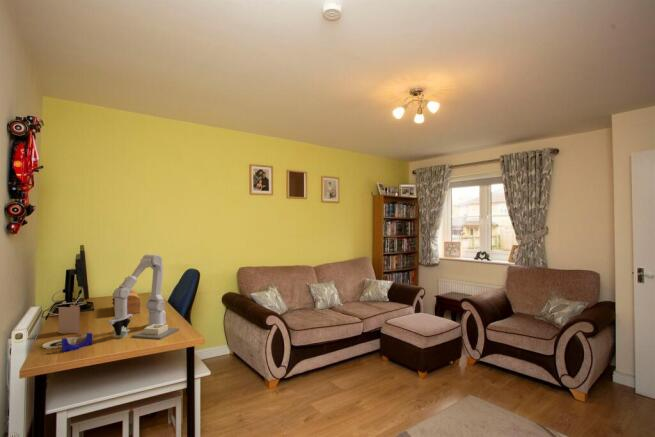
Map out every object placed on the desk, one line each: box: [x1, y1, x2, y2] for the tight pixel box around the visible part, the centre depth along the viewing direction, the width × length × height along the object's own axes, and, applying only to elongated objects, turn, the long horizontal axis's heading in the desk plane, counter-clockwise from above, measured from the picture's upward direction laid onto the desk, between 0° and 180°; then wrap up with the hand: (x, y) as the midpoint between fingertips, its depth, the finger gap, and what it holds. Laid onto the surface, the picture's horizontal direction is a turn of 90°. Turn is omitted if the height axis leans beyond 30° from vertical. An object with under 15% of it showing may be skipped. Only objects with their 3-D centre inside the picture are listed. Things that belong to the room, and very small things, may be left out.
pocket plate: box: [131, 324, 180, 340], centre depth 188 cm, size 16×18×4 cm
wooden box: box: [111, 288, 141, 315], centre depth 240 cm, size 30×16×14 cm, turn 34°
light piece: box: [42, 331, 92, 350], centre depth 174 cm, size 12×3×20 cm
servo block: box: [111, 326, 131, 339], centre depth 184 cm, size 3×9×6 cm, turn 79°
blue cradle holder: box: [61, 332, 93, 353], centre depth 167 cm, size 12×4×6 cm, turn 141°
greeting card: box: [58, 304, 81, 334], centre depth 191 cm, size 11×7×15 cm, turn 59°
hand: (120, 333), depth 184 cm, fingers closed on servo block, 3 cm apart
